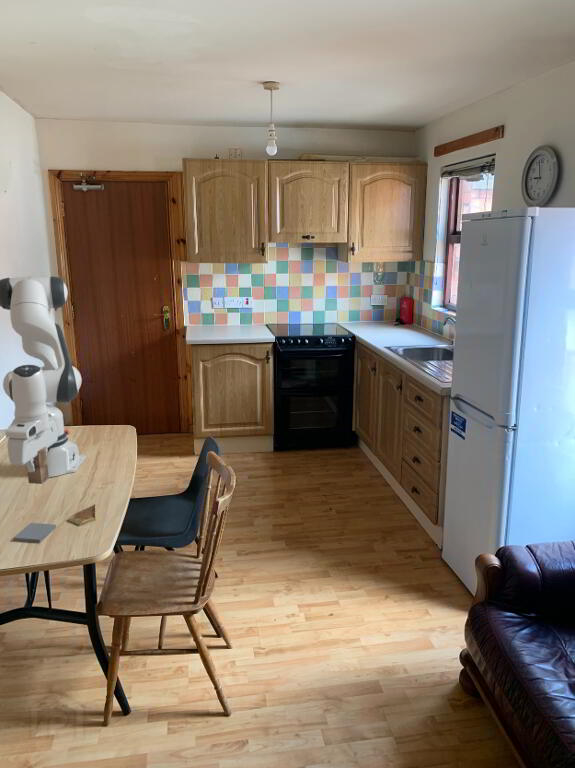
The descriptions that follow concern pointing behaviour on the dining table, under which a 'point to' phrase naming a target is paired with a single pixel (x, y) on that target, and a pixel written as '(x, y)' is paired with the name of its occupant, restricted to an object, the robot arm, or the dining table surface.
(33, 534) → the slate board
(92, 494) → the dining table surface
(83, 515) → the shard
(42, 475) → the walnut block
